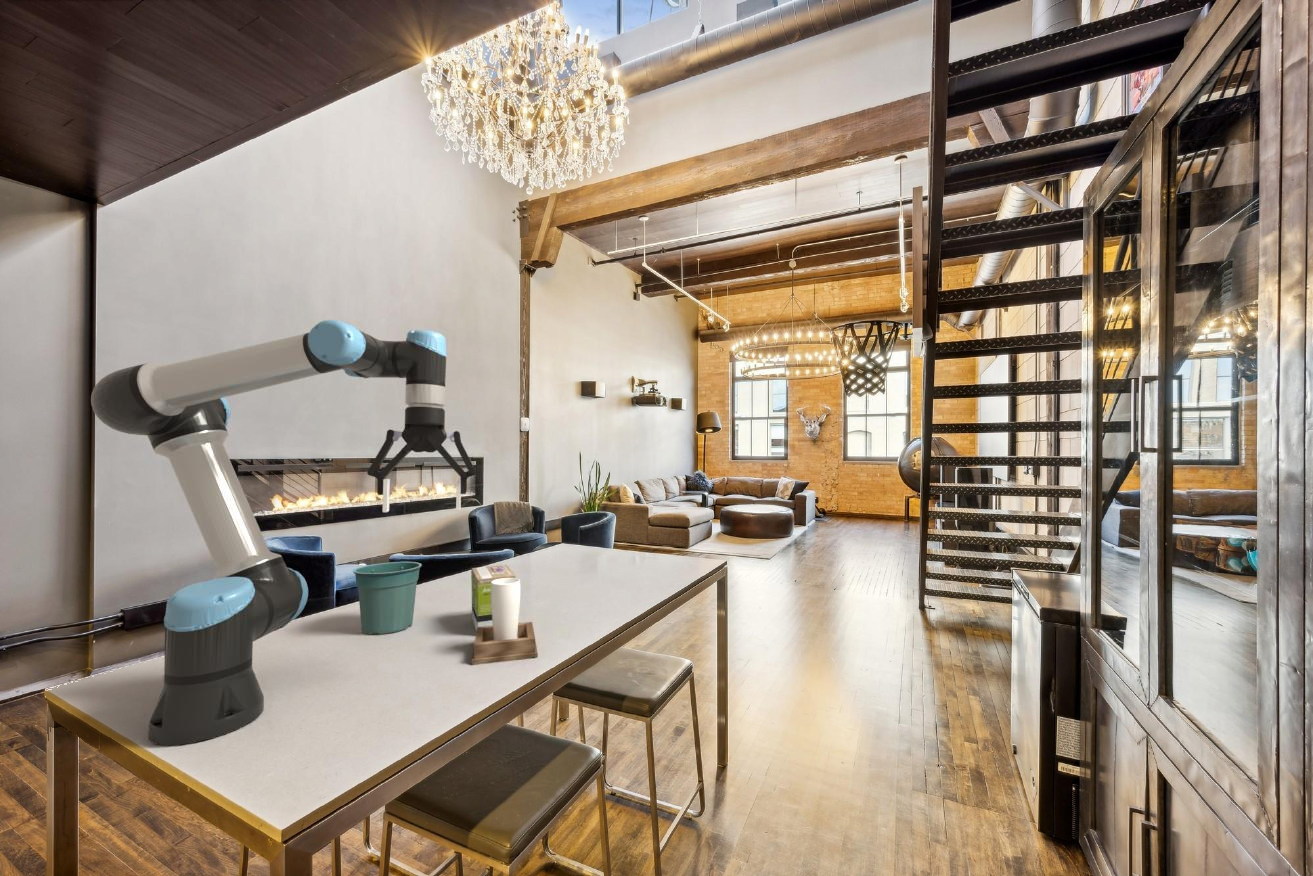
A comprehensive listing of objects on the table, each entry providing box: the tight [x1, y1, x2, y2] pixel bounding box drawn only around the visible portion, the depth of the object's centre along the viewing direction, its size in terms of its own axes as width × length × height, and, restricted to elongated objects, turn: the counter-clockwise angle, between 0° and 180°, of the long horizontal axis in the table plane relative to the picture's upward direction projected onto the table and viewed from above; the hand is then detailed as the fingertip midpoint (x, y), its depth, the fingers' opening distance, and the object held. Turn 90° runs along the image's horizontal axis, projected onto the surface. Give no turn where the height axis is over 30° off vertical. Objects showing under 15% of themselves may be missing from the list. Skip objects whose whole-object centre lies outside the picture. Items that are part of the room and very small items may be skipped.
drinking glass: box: [491, 577, 522, 641], centre depth 124 cm, size 7×7×15 cm
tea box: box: [470, 564, 517, 631], centre depth 143 cm, size 15×10×15 cm, turn 25°
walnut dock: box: [471, 621, 539, 666], centre depth 124 cm, size 14×14×4 cm
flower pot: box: [352, 561, 422, 635], centre depth 142 cm, size 16×16×16 cm
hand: (422, 511), depth 108 cm, fingers open, 13 cm apart
